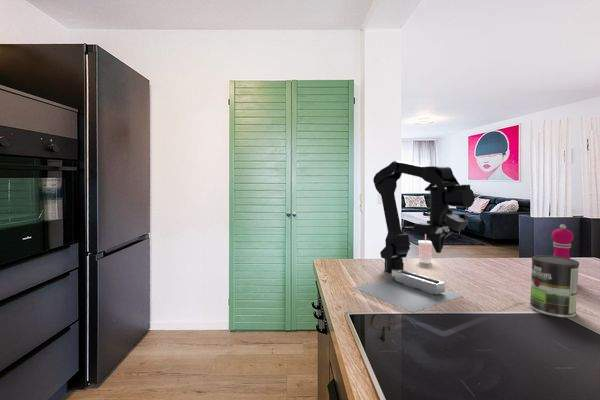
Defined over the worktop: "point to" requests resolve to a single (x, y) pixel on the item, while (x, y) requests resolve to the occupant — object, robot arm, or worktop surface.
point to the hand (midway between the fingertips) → (438, 252)
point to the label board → (405, 295)
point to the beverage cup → (425, 251)
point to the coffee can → (554, 285)
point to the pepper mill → (562, 241)
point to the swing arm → (418, 281)
